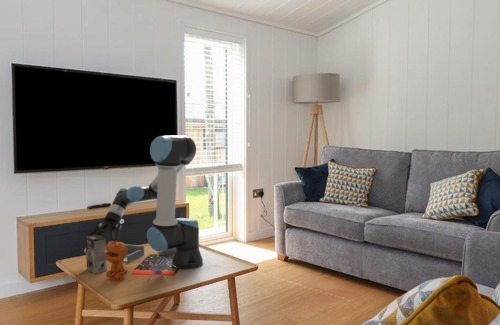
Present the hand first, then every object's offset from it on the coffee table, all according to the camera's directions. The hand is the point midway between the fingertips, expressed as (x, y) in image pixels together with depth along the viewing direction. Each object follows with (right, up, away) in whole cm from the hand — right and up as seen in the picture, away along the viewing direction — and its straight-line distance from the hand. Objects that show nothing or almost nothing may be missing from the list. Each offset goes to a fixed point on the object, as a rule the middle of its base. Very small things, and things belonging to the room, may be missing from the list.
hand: (95, 253), depth 210 cm
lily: (+32, -9, -14) cm, 36 cm away
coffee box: (0, -8, +1) cm, 8 cm away
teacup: (+30, -6, +34) cm, 46 cm away
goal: (+7, -6, +22) cm, 24 cm away
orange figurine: (+14, -9, -11) cm, 20 cm away
